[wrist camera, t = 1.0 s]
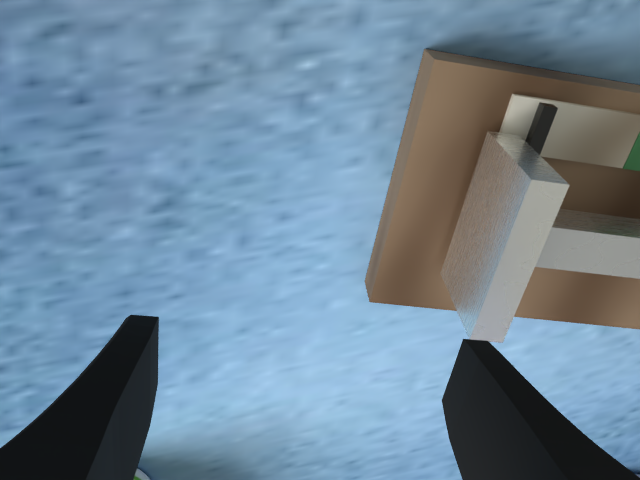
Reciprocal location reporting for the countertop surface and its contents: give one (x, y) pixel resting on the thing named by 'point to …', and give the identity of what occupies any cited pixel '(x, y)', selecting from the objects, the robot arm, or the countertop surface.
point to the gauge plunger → (525, 232)
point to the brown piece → (459, 165)
